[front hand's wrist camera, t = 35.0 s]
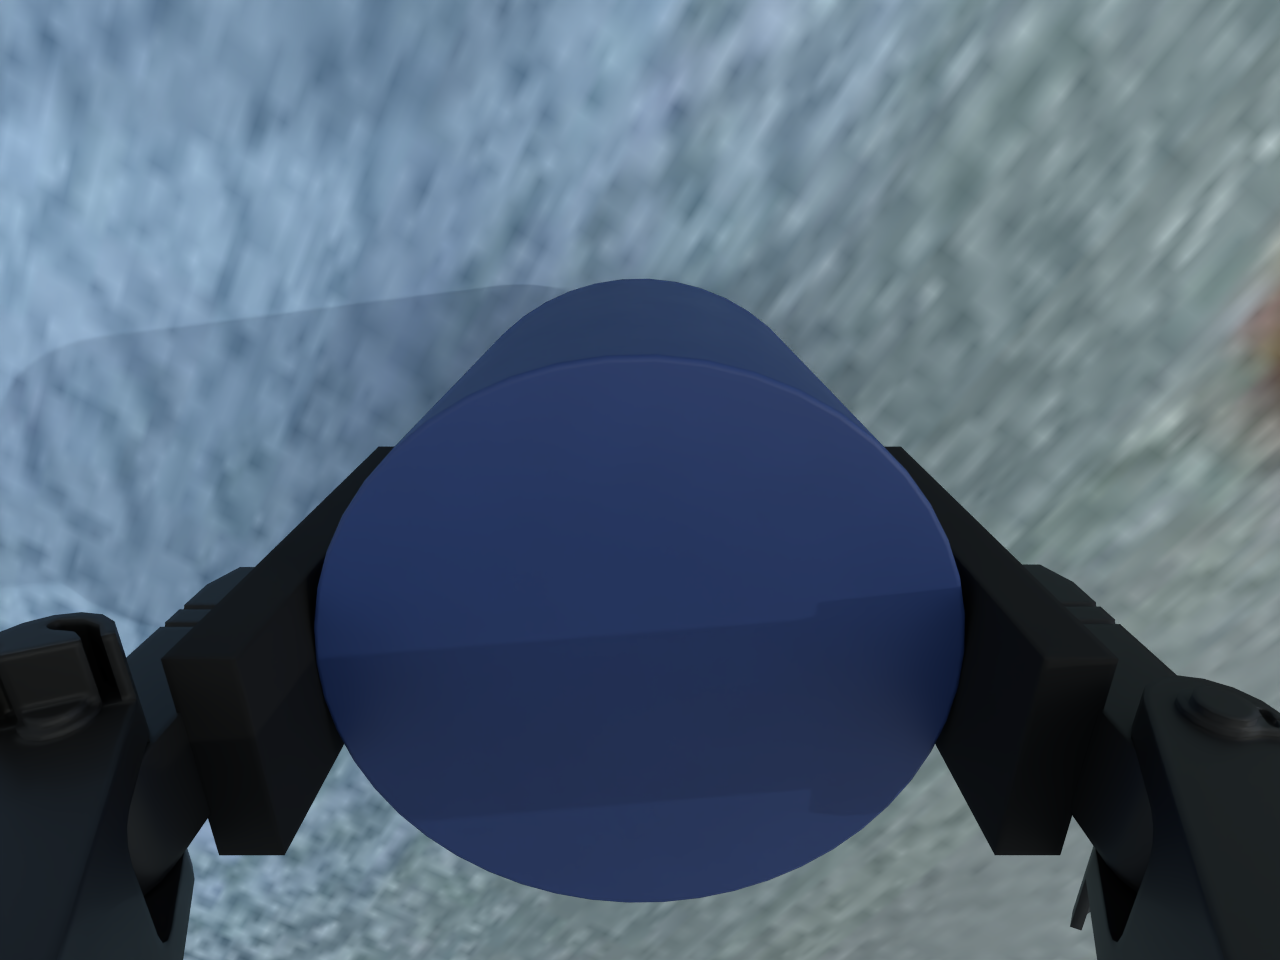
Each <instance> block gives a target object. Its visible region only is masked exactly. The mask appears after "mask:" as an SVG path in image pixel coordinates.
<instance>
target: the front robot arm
mask: <svg viewBox="0 0 1280 960" xmlns="http://www.w3.org/2000/svg"><path fill="white" fill-rule="evenodd" d="M393 448H394V447H378V448H377V449H376V450H375V451H374V452H373V453H372V454H371V455H370V456H369V457H368V458H367V459H366V460H365V461H363V462H362V463H361V464H360V465H359V466H358V467H357V468H356V469H355V470H354V471H353V472H352V473H351V474H350V475H349V476H348V477H347V478H346V479H345V480H344V481H343V482H342V483H341V484H340V485H339V486H338V487H337V488H336V489H335V490H334V491H333V492H332V493H331V494H330V495H329V496H328V497H326V498H325V499H324V500H323V501H322V502H321V503H320V504H319V505H318V506H317V507H316V508H315V509H314V510H313V511H312V512H311V513H310V514H309V515H308V516H307V517H306V518H305V519H304V520H303V521H302V522H301V523H300V524H299V525H298V526H297V527H296V528H295V529H294V530H293V531H292V532H291V533H290V534H288V535H287V536H286V537H285V538H284V539H283V540H282V541H281V542H280V543H279V544H278V545H277V546H276V547H275V548H274V549H273V550H272V551H271V552H270V553H269V554H268V555H267V556H266V557H265V558H264V559H263V560H262V561H261V562H260V563H259V564H258V565H257V566H256V567H239V568H238V569H236V570H234V571H232V572H230V573H228V574H226V575H224V576H222V577H221V578H219V579H217V580H215V581H213V582H211V583H209V584H207V585H206V586H205V587H204V588H203V589H202V590H201V591H199V592H198V593H197V594H196V595H195V596H194V597H193V598H192V599H191V600H189V601H188V602H187V603H186V604H185V605H184V609H180V610H178V611H177V612H176V613H175V614H174V615H173V616H172V617H171V618H170V619H168V620H167V621H166V622H165V627H160V628H159V629H157V630H156V631H155V632H154V633H153V634H152V635H151V636H150V637H149V638H148V639H146V640H145V641H144V642H143V643H142V644H141V645H140V646H139V647H138V648H136V649H135V650H134V651H133V652H132V653H131V654H130V655H129V656H128V657H127V658H126V656H125V653H124V650H123V646H122V643H121V640H120V637H119V634H118V631H117V628H116V625H115V622H114V621H113V620H111V619H109V618H108V617H106V616H104V615H103V614H94V613H84V612H79V613H70V614H61V615H53V616H49V617H45V618H41V619H37V620H33V621H29V622H25V623H22V624H19V625H17V626H14V627H12V628H9V629H7V630H4V631H1V632H0V960H183V956H184V949H185V942H186V935H187V928H188V921H189V914H190V907H191V900H192V893H193V886H194V873H193V866H192V862H191V859H190V856H189V853H188V849H187V847H188V846H189V845H190V843H191V842H192V840H193V839H194V837H195V836H196V834H197V833H198V832H199V830H200V829H201V827H202V826H203V824H204V823H205V821H206V820H207V819H209V823H210V826H211V829H212V833H213V836H214V839H215V843H216V846H217V849H218V853H219V855H285V853H286V851H287V850H288V848H289V846H290V844H291V842H292V840H293V838H294V837H295V835H296V833H297V831H298V829H299V827H300V825H301V824H302V822H303V820H304V818H305V816H306V814H307V812H308V810H309V809H310V807H311V805H312V803H313V801H314V799H315V797H316V796H317V794H318V792H319V790H320V788H321V786H322V784H323V782H324V781H325V779H326V777H327V775H328V773H329V771H330V769H331V768H332V766H333V764H334V762H335V760H336V758H337V756H338V754H339V753H340V751H341V749H342V747H343V745H344V742H343V740H342V738H341V737H340V735H339V733H338V731H337V729H336V727H335V724H334V721H333V719H332V716H331V714H330V711H329V708H328V706H327V703H326V701H325V698H324V694H323V690H322V685H321V681H320V676H319V672H318V668H317V663H316V649H315V634H314V620H315V608H316V597H317V587H318V584H319V580H320V576H321V572H322V568H323V564H324V560H325V556H326V552H327V550H328V547H329V545H330V543H331V540H332V538H333V536H334V533H335V531H336V529H337V527H338V524H339V522H340V520H341V517H342V515H343V514H344V512H345V510H346V509H347V507H348V506H349V504H350V503H351V501H352V499H353V498H354V496H355V495H356V493H357V492H358V490H359V488H360V487H361V485H362V484H363V482H364V481H365V480H366V478H367V477H368V476H369V475H370V474H371V473H372V472H373V470H374V469H375V468H376V467H377V466H378V465H379V464H380V463H381V461H382V460H383V459H384V458H385V457H386V456H387V455H388V453H389V452H390V451H391V450H392V449H393ZM885 448H886V449H887V450H888V451H889V452H890V454H891V455H892V456H893V457H894V458H895V459H896V460H897V461H898V462H899V463H900V464H901V465H902V466H903V467H904V468H905V469H906V470H907V471H908V473H909V474H910V476H911V477H912V478H913V480H914V481H915V483H916V484H917V486H918V487H919V488H920V490H921V491H922V493H923V494H924V495H925V497H926V498H927V500H928V501H929V502H930V504H931V506H932V508H933V510H934V512H935V514H936V516H937V518H938V520H939V522H940V524H941V526H942V528H943V530H944V532H945V534H946V536H947V538H948V540H949V543H950V547H951V550H952V553H953V556H954V560H955V563H956V566H957V569H958V572H959V576H960V582H961V589H962V596H963V603H964V610H965V637H964V656H963V662H962V667H961V673H960V679H959V684H958V689H957V691H956V694H955V697H954V700H953V703H952V706H951V709H950V712H949V715H948V718H947V721H946V723H945V725H944V727H943V729H942V731H941V733H940V735H939V737H938V739H937V741H936V743H935V744H936V746H937V748H938V750H939V752H940V754H941V755H942V757H943V759H944V761H945V763H946V765H947V767H948V768H949V770H950V772H951V774H952V776H953V778H954V780H955V782H956V783H957V785H958V787H959V789H960V791H961V793H962V795H963V796H964V798H965V800H966V802H967V804H968V806H969V808H970V810H971V811H972V813H973V815H974V817H975V819H976V821H977V823H978V824H979V826H980V828H981V830H982V832H983V834H984V836H985V837H986V839H987V841H988V843H989V845H990V847H991V849H992V851H993V852H994V854H995V855H1060V854H1061V851H1062V847H1063V844H1064V841H1065V837H1066V834H1067V831H1068V827H1069V824H1070V821H1071V817H1072V815H1073V817H1074V818H1075V820H1076V821H1077V823H1078V824H1079V825H1080V827H1081V828H1082V830H1083V831H1084V833H1085V834H1086V836H1087V837H1088V838H1089V840H1090V841H1091V843H1092V844H1093V849H1092V853H1091V856H1090V859H1089V862H1088V865H1087V868H1086V871H1085V874H1084V878H1083V881H1082V884H1081V887H1080V890H1079V893H1078V896H1077V899H1076V903H1075V906H1074V909H1073V913H1072V919H1071V925H1070V927H1073V928H1076V929H1079V930H1082V927H1083V924H1084V921H1085V918H1086V915H1087V914H1088V913H1089V912H1091V919H1092V926H1093V933H1094V940H1095V947H1096V954H1097V960H1280V713H1279V712H1278V711H1276V710H1275V709H1273V708H1272V707H1270V706H1269V705H1267V704H1266V703H1264V702H1263V701H1261V700H1259V699H1257V698H1255V697H1253V696H1250V695H1248V694H1246V693H1244V692H1242V691H1240V690H1237V689H1235V688H1233V687H1230V686H1226V685H1223V684H1220V683H1216V682H1213V681H1209V680H1206V679H1201V678H1193V677H1185V676H1177V675H1176V674H1175V673H1174V672H1173V671H1172V670H1170V669H1169V668H1168V667H1167V666H1166V665H1165V664H1164V663H1163V662H1161V661H1160V660H1159V659H1158V658H1157V657H1156V656H1155V655H1154V654H1153V653H1151V652H1150V651H1149V650H1148V649H1147V648H1146V647H1145V646H1144V645H1143V644H1141V643H1140V642H1139V641H1138V640H1137V639H1136V638H1135V637H1134V636H1133V635H1131V634H1130V633H1129V632H1128V631H1127V630H1126V629H1125V628H1124V627H1123V626H1121V625H1120V624H1115V619H1114V618H1113V617H1111V616H1110V615H1109V614H1108V613H1107V612H1106V611H1105V610H1104V609H1103V608H1101V607H1096V602H1095V601H1094V600H1093V599H1091V598H1090V597H1089V596H1088V595H1087V594H1086V593H1085V592H1084V591H1082V590H1081V589H1080V588H1079V587H1078V586H1077V585H1076V584H1075V583H1074V582H1072V581H1070V580H1068V579H1066V578H1064V577H1062V576H1061V575H1059V574H1057V573H1055V572H1053V571H1051V570H1049V569H1047V568H1045V567H1043V566H1042V565H1022V564H1021V563H1020V562H1019V561H1018V560H1017V559H1016V558H1015V557H1014V556H1013V555H1012V554H1011V553H1009V552H1008V551H1007V550H1006V549H1005V548H1004V547H1003V546H1002V545H1001V544H1000V543H999V542H998V541H997V540H996V539H995V538H994V537H993V536H992V535H991V534H990V533H989V532H988V531H987V530H986V529H985V528H984V527H983V526H982V525H981V524H980V523H979V522H978V521H977V520H976V519H975V518H974V517H973V516H971V515H970V514H969V513H968V512H967V511H966V510H965V509H964V508H963V507H962V506H961V505H960V504H959V503H958V502H957V501H956V500H955V499H954V498H953V497H952V496H951V495H950V494H949V493H948V492H947V491H946V490H945V489H944V488H943V487H942V486H941V485H940V484H939V483H938V482H937V481H936V480H934V479H933V478H932V477H931V476H930V475H929V474H928V473H927V472H926V471H925V470H924V469H923V468H922V467H921V466H920V465H919V464H918V463H917V462H916V461H915V460H914V459H913V458H912V457H911V456H910V455H909V454H908V453H907V452H906V451H905V450H904V449H903V448H902V447H885Z"/></svg>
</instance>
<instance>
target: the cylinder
mask: <svg viewBox="0 0 1280 960" xmlns="http://www.w3.org/2000/svg"><path fill="white" fill-rule="evenodd" d="M314 634H315V649H316V663H317V668H318V672H319V676H320V681H321V685H322V690H323V694H324V698H325V701H326V703H327V706H328V708H329V711H330V714H331V716H332V719H333V721H334V724H335V727H336V729H337V731H338V733H339V735H340V737H341V738H342V740H343V742H344V744H345V746H346V747H347V749H348V751H349V753H350V754H351V756H352V758H353V760H354V761H355V763H356V764H357V765H358V767H359V768H360V769H361V771H362V772H363V773H364V775H365V776H366V777H367V779H368V780H369V781H370V783H371V784H372V785H373V787H374V788H375V789H376V790H377V791H378V792H379V793H380V794H381V795H382V796H383V797H384V799H385V800H386V801H387V802H388V803H389V804H390V805H391V806H392V807H393V808H394V809H395V810H396V811H397V812H398V813H399V814H400V815H401V816H403V817H404V818H405V819H406V820H407V821H409V822H410V823H411V824H412V825H414V826H415V827H416V828H417V829H419V830H420V831H421V832H422V833H423V834H425V835H426V836H427V837H429V838H430V839H432V840H433V841H435V842H437V843H438V844H440V845H441V846H443V847H444V848H446V849H447V850H449V851H451V852H452V853H454V854H455V855H457V856H459V857H461V858H463V859H465V860H467V861H469V862H471V863H473V864H475V865H477V866H479V867H481V868H483V869H485V870H487V871H489V872H491V873H494V874H497V875H499V876H502V877H504V878H507V879H510V880H512V881H515V882H518V883H520V884H523V885H527V886H531V887H534V888H538V889H542V890H545V891H549V892H553V893H556V894H562V895H568V896H574V897H579V898H585V899H591V900H603V901H616V902H667V901H676V900H685V899H695V898H702V897H706V896H711V895H716V894H721V893H726V892H731V891H735V890H739V889H742V888H745V887H748V886H752V885H755V884H758V883H761V882H765V881H768V880H770V879H773V878H775V877H778V876H780V875H782V874H785V873H787V872H790V871H792V870H794V869H797V868H799V867H801V866H803V865H805V864H807V863H809V862H811V861H812V860H814V859H816V858H818V857H820V856H822V855H823V854H825V853H827V852H829V851H831V850H833V849H834V848H835V847H837V846H838V845H840V844H841V843H843V842H844V841H846V840H847V839H848V838H850V837H851V836H853V835H854V834H856V833H857V832H859V831H860V830H861V829H863V828H864V827H865V826H866V825H867V824H868V823H869V822H871V821H872V820H873V819H874V818H875V817H876V816H877V815H879V814H880V813H881V812H882V811H883V810H884V809H885V808H886V807H888V806H889V804H890V803H891V802H892V801H893V800H894V799H895V798H896V797H897V796H898V794H899V793H900V792H901V791H902V790H903V789H904V788H905V787H906V785H907V784H908V783H909V782H910V781H911V780H912V778H913V777H914V775H915V774H916V773H917V771H918V770H919V768H920V767H921V765H922V764H923V762H924V761H925V759H926V758H927V757H928V755H929V754H930V752H931V751H932V749H933V747H934V745H935V743H936V741H937V739H938V737H939V735H940V733H941V731H942V729H943V727H944V725H945V723H946V721H947V718H948V715H949V712H950V709H951V706H952V703H953V700H954V697H955V694H956V691H957V689H958V684H959V679H960V673H961V667H962V662H963V656H964V637H965V610H964V603H963V596H962V589H961V582H960V576H959V572H958V569H957V566H956V563H955V560H954V556H953V553H952V550H951V547H950V543H949V540H948V538H947V536H946V534H945V532H944V530H943V528H942V526H941V524H940V522H939V520H938V518H937V516H936V514H935V512H934V510H933V508H932V506H931V504H930V502H929V501H928V500H927V498H926V497H925V495H924V494H923V493H922V491H921V490H920V488H919V487H918V486H917V484H916V483H915V481H914V480H913V478H912V477H911V476H910V474H909V473H908V471H907V470H906V469H905V468H904V467H903V466H902V465H901V464H900V463H899V462H898V461H897V460H896V459H895V458H894V457H893V456H892V455H891V454H890V452H889V451H888V450H887V449H886V448H885V447H884V446H883V445H882V444H881V443H880V442H879V441H878V440H877V439H876V438H875V437H874V436H873V435H872V434H871V433H870V432H869V431H868V430H867V429H866V428H865V427H864V426H863V424H862V423H861V422H860V421H859V420H858V419H857V418H856V417H855V416H854V415H853V414H852V413H851V412H850V411H849V410H848V409H847V408H846V407H845V406H844V405H843V404H842V403H841V402H840V401H839V400H838V399H837V398H836V396H835V395H834V394H833V393H832V392H831V391H830V390H829V389H828V388H827V387H826V386H825V385H824V384H823V383H822V382H821V381H820V380H819V379H818V378H817V377H816V376H815V375H814V374H813V373H812V372H811V371H810V370H809V368H808V367H807V366H806V365H805V364H804V363H803V362H802V361H801V360H800V359H799V358H798V357H797V356H796V355H795V354H794V353H793V352H792V351H791V350H790V349H789V348H788V347H787V346H786V345H785V344H784V343H783V342H782V340H781V339H780V338H779V337H778V336H777V335H776V334H775V333H774V332H773V331H772V330H771V329H770V328H769V327H768V326H766V325H765V324H764V323H763V322H761V321H760V320H759V319H757V318H756V317H755V316H754V315H752V314H751V313H750V312H748V311H747V310H745V309H743V308H742V307H740V306H738V305H736V304H735V303H733V302H731V301H729V300H728V299H726V298H723V297H721V296H719V295H716V294H714V293H711V292H709V291H706V290H704V289H701V288H697V287H693V286H689V285H686V284H682V283H678V282H672V281H663V280H654V279H622V280H616V281H609V282H603V283H597V284H593V285H589V286H586V287H583V288H579V289H576V290H573V291H570V292H567V293H565V294H563V295H561V296H559V297H557V298H554V299H552V300H550V301H548V302H546V303H544V304H543V305H541V306H539V307H538V308H536V309H535V310H533V311H532V312H530V313H528V314H527V315H525V316H524V317H523V318H522V319H520V320H519V321H518V322H517V323H516V324H514V325H513V326H512V327H511V328H510V329H509V330H507V331H506V332H505V333H504V334H503V335H502V336H501V337H500V338H499V339H498V340H497V341H496V342H495V343H494V344H493V345H492V346H491V348H490V349H489V350H488V351H487V352H486V353H485V354H484V355H483V356H482V357H481V358H480V359H479V360H478V361H477V362H476V363H475V364H474V365H473V366H472V367H471V368H470V369H469V370H468V371H467V372H466V373H465V374H464V375H463V376H462V378H461V379H460V380H459V381H458V382H457V383H456V384H455V385H454V386H453V387H452V388H451V389H450V390H449V391H448V392H447V393H446V394H445V395H444V396H443V397H442V398H441V399H440V400H439V401H438V402H437V403H436V404H435V405H434V406H433V408H432V409H431V410H430V411H429V412H428V413H427V414H426V415H425V416H424V417H423V418H422V419H421V420H420V421H419V422H418V423H417V424H416V425H415V426H414V427H413V428H412V429H411V430H410V431H409V432H408V433H407V434H406V435H405V436H404V438H403V439H402V440H401V441H400V442H399V443H398V444H397V445H396V446H395V447H394V448H393V449H392V450H391V451H390V452H389V453H388V455H387V456H386V457H385V458H384V459H383V460H382V461H381V463H380V464H379V465H378V466H377V467H376V468H375V469H374V470H373V472H372V473H371V474H370V475H369V476H368V477H367V478H366V480H365V481H364V482H363V484H362V485H361V487H360V488H359V490H358V492H357V493H356V495H355V496H354V498H353V499H352V501H351V503H350V504H349V506H348V507H347V509H346V510H345V512H344V514H343V515H342V517H341V520H340V522H339V524H338V527H337V529H336V531H335V533H334V536H333V538H332V540H331V543H330V545H329V547H328V550H327V552H326V556H325V560H324V564H323V568H322V572H321V576H320V580H319V584H318V587H317V597H316V608H315V620H314Z"/></svg>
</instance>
